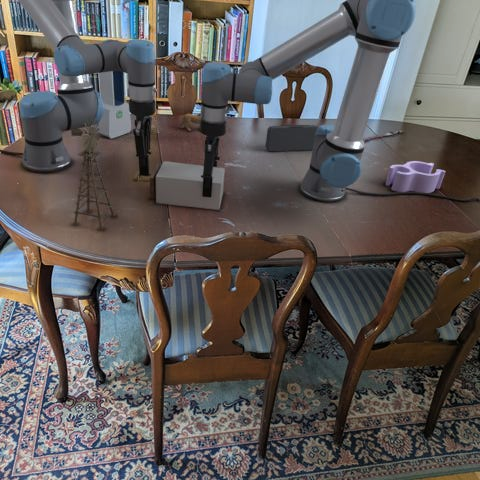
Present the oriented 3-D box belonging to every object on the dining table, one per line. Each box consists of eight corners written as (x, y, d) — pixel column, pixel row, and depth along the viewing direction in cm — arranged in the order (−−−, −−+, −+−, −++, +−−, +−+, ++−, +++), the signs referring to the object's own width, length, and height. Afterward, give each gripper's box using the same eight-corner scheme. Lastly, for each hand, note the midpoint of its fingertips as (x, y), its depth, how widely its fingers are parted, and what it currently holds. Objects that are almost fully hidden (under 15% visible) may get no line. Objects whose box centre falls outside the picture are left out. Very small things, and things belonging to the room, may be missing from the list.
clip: (398, 195, 164) (404, 177, 160) (379, 179, 174) (383, 162, 170) (444, 191, 170) (450, 174, 166) (423, 176, 180) (428, 160, 176)
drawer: (131, 196, 144) (130, 175, 140) (139, 182, 152) (139, 162, 149) (209, 205, 144) (210, 184, 140) (213, 190, 152) (214, 170, 148)
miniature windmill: (101, 230, 128) (92, 124, 112) (72, 224, 129) (59, 119, 113) (115, 214, 135) (109, 113, 119) (88, 209, 136) (78, 108, 120)
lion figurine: (209, 126, 205) (210, 106, 200) (212, 130, 201) (214, 110, 196) (176, 127, 200) (177, 107, 195) (179, 132, 196) (180, 111, 191)
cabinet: (156, 203, 144) (155, 176, 139) (163, 186, 153) (163, 161, 148) (219, 210, 144) (221, 183, 139) (222, 193, 153) (224, 168, 148)
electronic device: (109, 139, 182) (104, 59, 166) (96, 134, 185) (89, 55, 169) (132, 131, 192) (129, 55, 175) (118, 127, 195) (114, 51, 178)
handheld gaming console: (315, 147, 196) (319, 124, 190) (317, 149, 194) (322, 126, 188) (264, 149, 189) (267, 125, 183) (266, 152, 187) (269, 127, 181)
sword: (399, 131, 224) (400, 128, 223) (404, 133, 222) (405, 130, 221) (355, 142, 208) (356, 139, 207) (360, 144, 206) (361, 142, 205)
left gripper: (149, 107, 127) (151, 185, 140) (160, 94, 138) (160, 167, 151) (122, 104, 127) (126, 182, 140) (135, 91, 138) (137, 165, 151)
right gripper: (222, 135, 124) (217, 207, 136) (230, 108, 144) (224, 173, 156) (194, 132, 124) (191, 204, 136) (206, 106, 144) (202, 170, 156)
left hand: (144, 174), depth 145 cm, fingers closed
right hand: (209, 187), depth 146 cm, fingers closed on cabinet, 11 cm apart
